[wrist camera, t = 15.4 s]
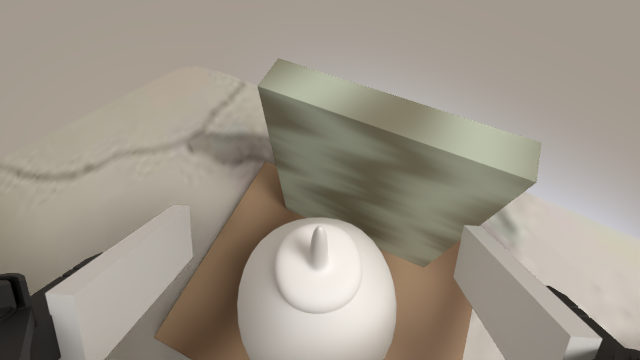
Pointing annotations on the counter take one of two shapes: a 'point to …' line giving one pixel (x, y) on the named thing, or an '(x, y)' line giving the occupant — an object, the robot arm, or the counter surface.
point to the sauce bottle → (316, 295)
